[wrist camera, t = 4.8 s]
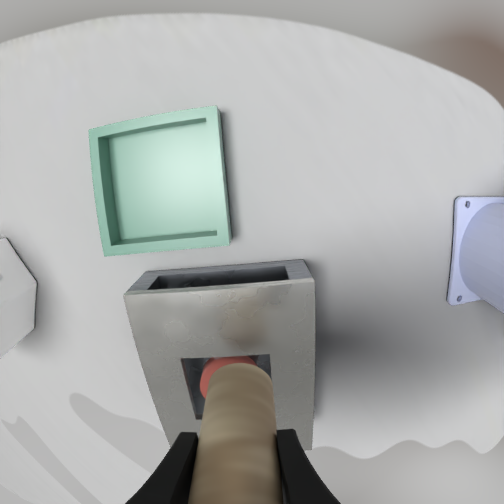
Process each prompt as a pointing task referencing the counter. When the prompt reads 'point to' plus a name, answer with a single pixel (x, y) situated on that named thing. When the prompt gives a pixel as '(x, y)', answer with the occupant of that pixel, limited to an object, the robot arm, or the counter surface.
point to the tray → (161, 182)
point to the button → (215, 364)
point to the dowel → (237, 440)
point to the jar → (15, 298)
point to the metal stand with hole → (226, 336)
